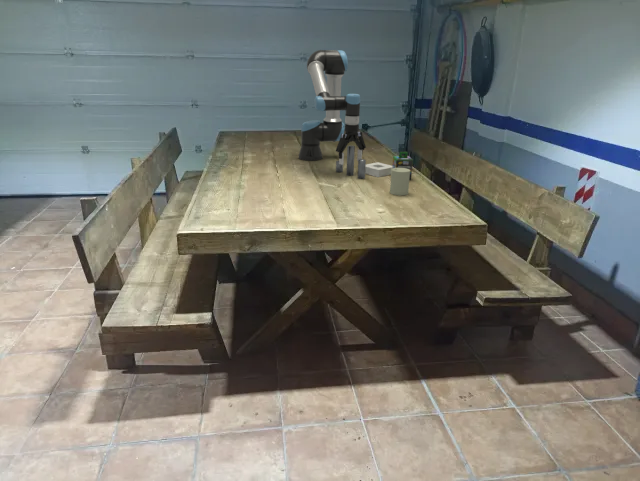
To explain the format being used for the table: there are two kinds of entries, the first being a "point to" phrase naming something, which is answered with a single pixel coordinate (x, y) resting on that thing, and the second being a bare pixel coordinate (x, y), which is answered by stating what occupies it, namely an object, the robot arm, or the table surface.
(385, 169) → the socket block
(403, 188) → the can
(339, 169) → the short pin
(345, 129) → the robot arm
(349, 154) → the long pin
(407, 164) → the chalk box
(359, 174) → the medium pin
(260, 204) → the table surface
